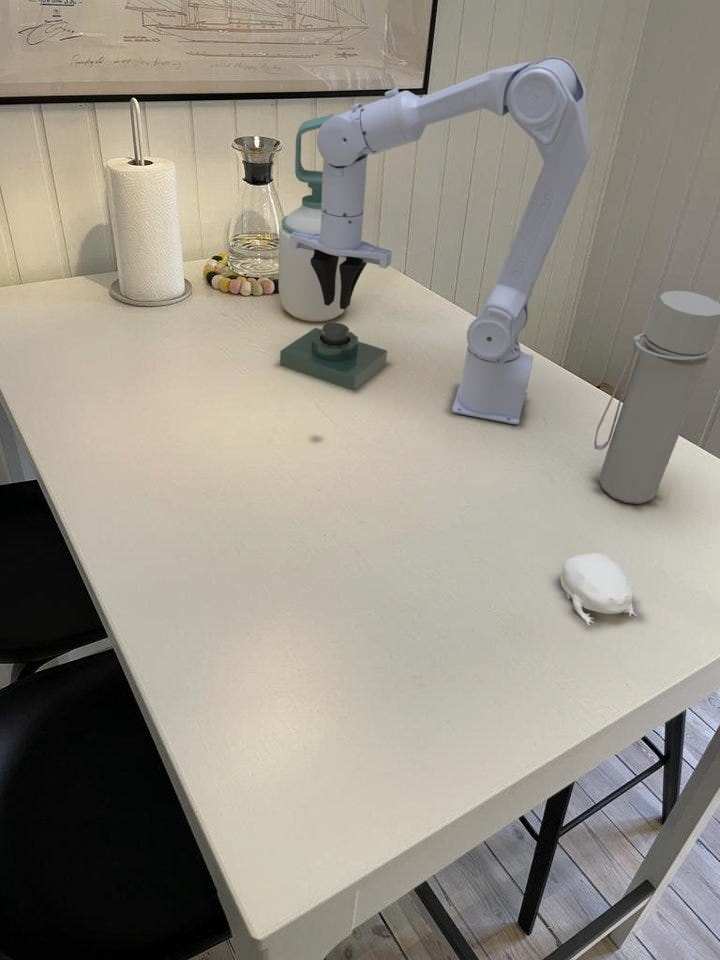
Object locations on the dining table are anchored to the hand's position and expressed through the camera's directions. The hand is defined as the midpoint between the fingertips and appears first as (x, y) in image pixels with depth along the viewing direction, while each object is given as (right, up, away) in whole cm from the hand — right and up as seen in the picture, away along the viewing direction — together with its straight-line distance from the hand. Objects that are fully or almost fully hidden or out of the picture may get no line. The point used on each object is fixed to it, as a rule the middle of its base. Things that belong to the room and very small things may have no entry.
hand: (337, 304), depth 110 cm
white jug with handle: (-5, +4, +21) cm, 22 cm away
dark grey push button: (0, -5, +3) cm, 6 cm away
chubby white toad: (+28, -38, -30) cm, 56 cm away
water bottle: (+36, -27, -14) cm, 47 cm away
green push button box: (-1, -8, +6) cm, 10 cm away
